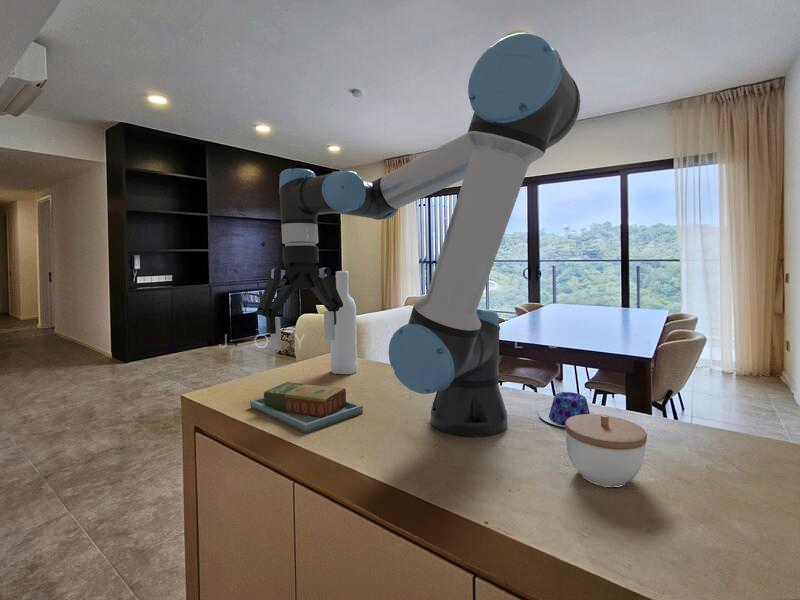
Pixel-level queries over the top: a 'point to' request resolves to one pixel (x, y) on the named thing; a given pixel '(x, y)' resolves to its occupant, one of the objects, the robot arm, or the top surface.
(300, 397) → the carton
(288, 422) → the tray
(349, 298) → the bottle
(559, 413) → the pudding
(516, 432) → the top surface
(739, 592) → the top surface
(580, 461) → the lidded jar
